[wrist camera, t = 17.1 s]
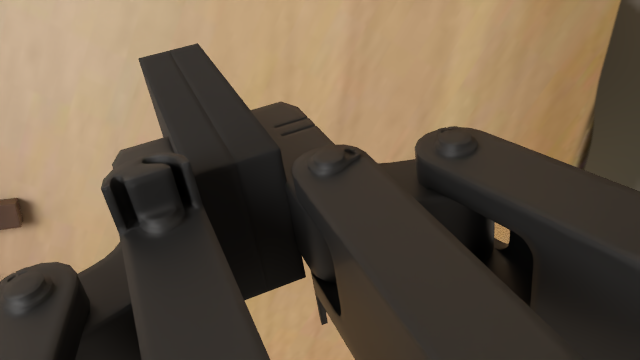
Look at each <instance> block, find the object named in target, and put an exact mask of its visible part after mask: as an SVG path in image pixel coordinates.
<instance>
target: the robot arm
mask: <svg viewBox="0 0 640 360" xmlns="http://www.w3.org/2000/svg"><path fill="white" fill-rule="evenodd" d="M139 62H140V65H141V68H142V71H143V74H144V77H145V81H146V84H147V87H148V90H149V93H150V96H151V99H152V103H153V106H154V109H155V112H156V115H157V118H158V122H159V125H160V128H161V131H162V134H163V137H164V138H161V139H158V140H154V141H151V142H147V143H144V144H141V145H137V146H134V147H130V148H127V149H123V150H120V152H119V154H118V155H117V157H116V159H115V160H114V162H113V164H112V166H113V170H112V171H111V172H110V173H109V174H108V175H107V176H106V177H105V179H104V180H103V183H102V187H101V190H102V192H103V195H104V197H105V200H106V202H107V205H108V207H109V210H110V212H111V215H112V217H113V220H114V222H115V225H116V227H117V230H118V232H119V236H120V243H119V244H118V245H117V247H116V248H115V249H114V250H113V251H112V252H111V253H110V254H109V255H107V256H106V257H105V258H104V259H102V260H101V261H99V262H98V263H96V264H95V265H93V266H91V267H89V268H88V269H86V270H84V271H82V272H80V273H79V274H77V273H76V272H75V271H74V269H73V268H72V267H71V266H70V265H67V264H63V263H59V262H52V263H40V264H37V265H34V266H31V267H26V268H23V269H21V270H19V271H16V273H12V274H11V275H9V276H7V277H6V278H4V279H3V280H2V281H1V282H0V360H270V358H269V356H268V354H267V351H266V349H265V347H264V345H263V342H262V340H261V338H260V335H259V333H258V331H257V328H256V326H255V324H254V322H253V319H252V317H251V315H250V312H249V310H248V308H247V306H246V303H245V301H244V300H246V299H249V298H252V297H254V296H257V295H260V294H262V293H265V292H268V291H270V290H273V289H276V288H278V287H281V286H284V285H286V284H289V283H291V282H294V281H297V280H299V279H302V278H305V277H306V275H305V270H304V265H303V260H302V257H303V258H304V260H305V261H306V263H307V265H308V266H309V268H310V269H311V274H312V279H313V284H314V290H315V295H316V300H317V305H318V310H319V316H320V320H321V323H322V325H323V324H326V323H328V322H327V317H326V312H327V313H328V315H329V317H330V318H331V320H332V322H333V323H334V325H335V327H336V328H337V330H338V332H339V333H340V335H341V337H342V338H343V340H344V342H345V343H346V345H347V347H348V348H349V350H350V352H351V353H352V355H353V357H354V358H355V360H640V192H639V191H637V190H634V189H632V188H629V187H626V186H624V185H621V184H619V183H616V182H613V181H610V180H608V179H606V178H603V177H600V176H597V175H595V174H593V173H590V172H587V171H585V170H582V169H580V168H577V167H574V166H572V165H569V164H567V163H564V162H561V161H559V160H556V159H554V158H551V157H548V156H546V155H543V154H541V153H538V152H535V151H533V150H530V149H528V148H525V147H522V146H520V145H517V144H515V143H512V142H509V141H507V140H504V139H502V138H499V137H496V136H494V135H491V134H489V133H486V132H483V131H480V130H476V129H472V128H462V127H455V126H454V127H448V128H446V127H445V128H441V129H438V130H436V131H433V132H430V133H427V134H426V135H424V136H423V137H422V138H420V139H419V140H418V142H417V144H416V146H415V157H416V159H414V160H407V161H399V162H392V163H376V162H375V161H374V160H373V159H372V158H371V157H370V156H369V155H368V154H367V153H366V152H364V151H362V150H361V149H359V148H357V147H353V146H348V145H335V144H334V143H333V142H332V141H331V140H330V139H329V138H328V137H327V136H326V135H325V134H324V133H323V132H322V131H321V130H320V129H319V128H318V127H317V126H315V124H314V123H313V122H312V121H311V120H310V119H309V118H307V116H306V115H305V114H304V113H303V112H302V111H301V110H300V109H299V108H298V107H296V106H293V105H290V104H287V103H284V102H278V103H274V104H271V105H268V106H264V107H261V108H257V109H254V110H250V109H249V108H248V107H247V106H246V104H245V103H244V102H243V100H242V99H241V98H240V97H239V95H238V94H237V93H236V92H235V90H234V89H233V88H232V86H231V85H230V84H229V83H228V81H227V80H226V79H225V77H224V76H223V75H222V74H221V72H220V71H219V70H218V69H217V67H216V66H215V65H214V63H213V62H212V61H211V60H210V58H209V57H208V56H207V55H206V53H205V52H204V51H203V49H202V48H201V47H200V46H199V44H198V43H197V44H194V45H190V46H186V47H182V48H178V49H174V50H170V51H166V52H162V53H158V54H154V55H150V56H146V57H143V58H139ZM495 222H496V223H498V224H500V225H502V226H504V227H506V228H507V229H509V230H510V241H509V244H506V243H503V242H501V241H499V240H497V239H495V238H494V223H495Z"/></svg>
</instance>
